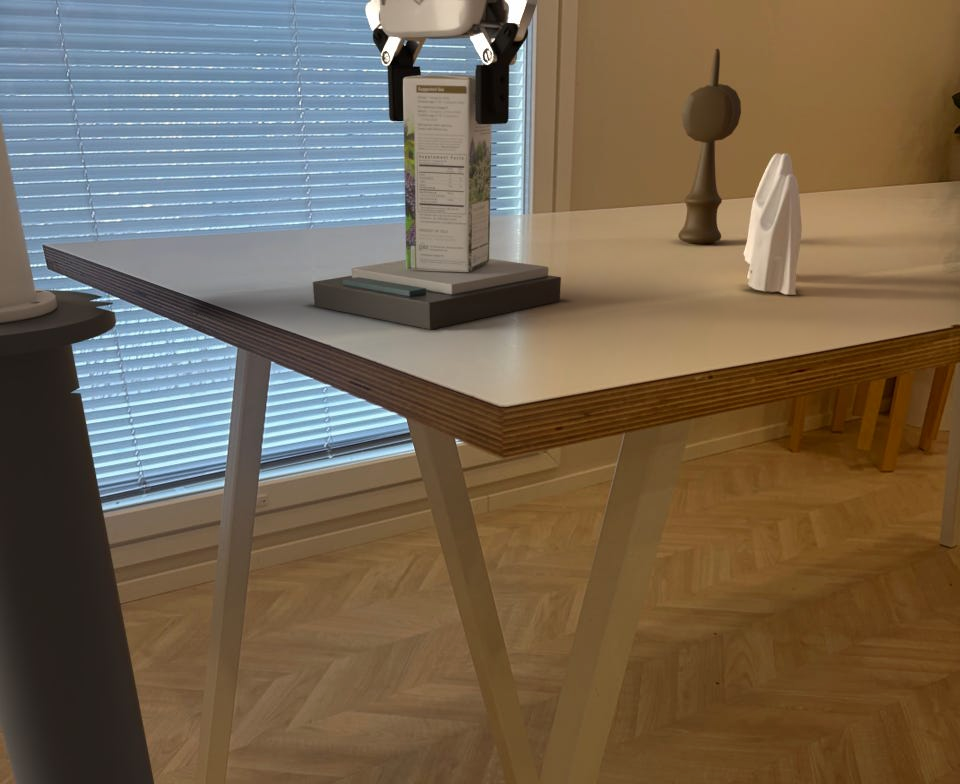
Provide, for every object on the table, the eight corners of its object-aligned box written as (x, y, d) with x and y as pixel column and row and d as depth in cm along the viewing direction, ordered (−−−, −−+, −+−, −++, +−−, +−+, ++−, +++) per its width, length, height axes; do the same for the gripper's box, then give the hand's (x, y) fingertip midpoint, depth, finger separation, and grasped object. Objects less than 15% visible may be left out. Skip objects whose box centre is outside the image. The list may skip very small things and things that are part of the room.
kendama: (728, 238, 125) (748, 49, 116) (721, 249, 117) (742, 46, 107) (678, 236, 127) (694, 49, 117) (668, 247, 118) (684, 47, 109)
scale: (430, 329, 79) (429, 291, 78) (314, 306, 87) (311, 271, 86) (560, 300, 89) (561, 267, 88) (445, 282, 98) (445, 251, 96)
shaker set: (740, 272, 102) (754, 150, 97) (783, 273, 102) (800, 150, 97) (749, 294, 92) (765, 158, 87) (797, 295, 91) (816, 158, 86)
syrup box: (429, 260, 91) (424, 74, 84) (492, 264, 90) (493, 74, 83) (405, 270, 86) (398, 74, 80) (471, 274, 85) (471, 74, 78)
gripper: (327, -134, 77) (341, 121, 85) (498, -167, 67) (496, 126, 75) (399, -121, 82) (406, 119, 90) (569, -150, 72) (560, 124, 80)
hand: (447, 122), depth 83 cm, fingers open, 9 cm apart
